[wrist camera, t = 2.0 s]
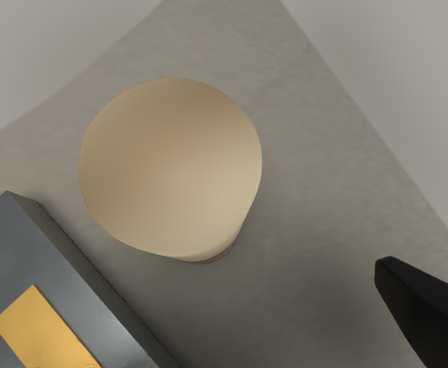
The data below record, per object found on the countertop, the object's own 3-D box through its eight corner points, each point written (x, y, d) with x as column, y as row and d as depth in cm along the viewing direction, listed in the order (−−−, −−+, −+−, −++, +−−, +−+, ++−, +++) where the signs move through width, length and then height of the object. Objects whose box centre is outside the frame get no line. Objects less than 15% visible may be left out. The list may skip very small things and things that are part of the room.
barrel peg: (253, 226, 20) (300, 161, 8) (199, 280, 20) (164, 296, 7) (201, 175, 21) (175, 47, 9) (148, 225, 20) (40, 159, 8)
